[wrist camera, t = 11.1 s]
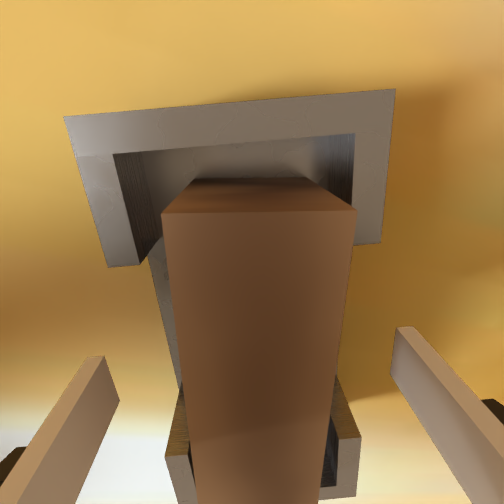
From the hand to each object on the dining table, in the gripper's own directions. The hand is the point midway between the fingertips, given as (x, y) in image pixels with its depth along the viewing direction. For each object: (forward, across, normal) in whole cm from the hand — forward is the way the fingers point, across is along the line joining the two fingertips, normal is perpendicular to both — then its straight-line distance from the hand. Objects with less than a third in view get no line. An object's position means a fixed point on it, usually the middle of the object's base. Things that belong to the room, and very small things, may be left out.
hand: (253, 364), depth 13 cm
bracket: (+6, 0, 0) cm, 6 cm away
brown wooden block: (+3, 0, 0) cm, 3 cm away
